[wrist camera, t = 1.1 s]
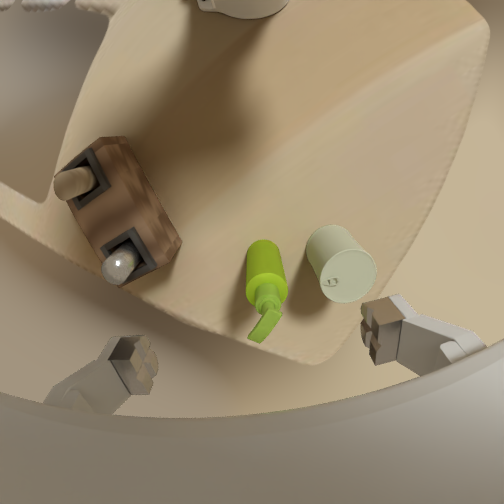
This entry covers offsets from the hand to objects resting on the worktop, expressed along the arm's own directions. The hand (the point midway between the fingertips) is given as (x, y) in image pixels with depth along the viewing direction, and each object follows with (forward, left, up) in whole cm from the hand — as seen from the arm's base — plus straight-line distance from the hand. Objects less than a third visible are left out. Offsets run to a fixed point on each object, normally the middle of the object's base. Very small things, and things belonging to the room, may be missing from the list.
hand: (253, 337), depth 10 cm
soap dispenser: (+13, -4, -40) cm, 42 cm away
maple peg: (-14, -21, -32) cm, 41 cm away
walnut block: (-7, -21, -39) cm, 45 cm away
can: (+17, +8, -40) cm, 44 cm away
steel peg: (0, -21, -32) cm, 39 cm away
